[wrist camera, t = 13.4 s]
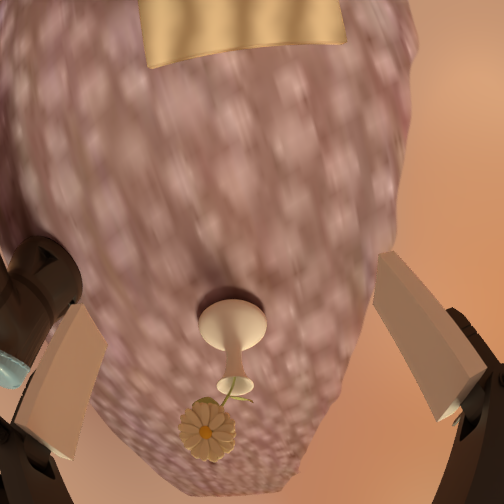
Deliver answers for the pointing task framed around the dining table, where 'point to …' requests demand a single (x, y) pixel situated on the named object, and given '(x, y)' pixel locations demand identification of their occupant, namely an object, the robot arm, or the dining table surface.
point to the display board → (234, 26)
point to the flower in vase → (232, 383)
